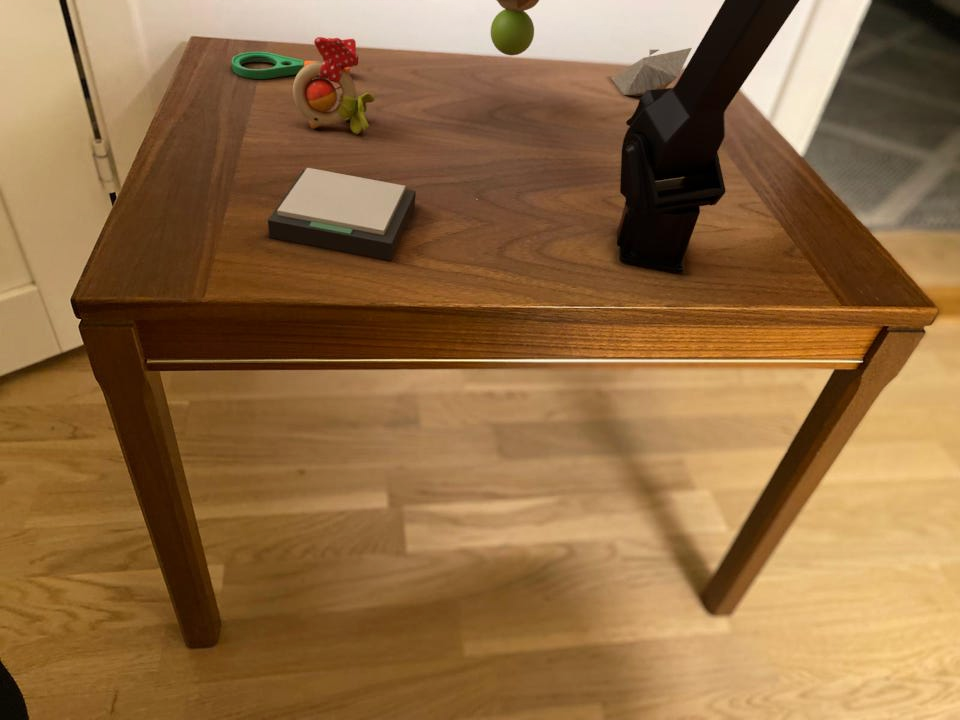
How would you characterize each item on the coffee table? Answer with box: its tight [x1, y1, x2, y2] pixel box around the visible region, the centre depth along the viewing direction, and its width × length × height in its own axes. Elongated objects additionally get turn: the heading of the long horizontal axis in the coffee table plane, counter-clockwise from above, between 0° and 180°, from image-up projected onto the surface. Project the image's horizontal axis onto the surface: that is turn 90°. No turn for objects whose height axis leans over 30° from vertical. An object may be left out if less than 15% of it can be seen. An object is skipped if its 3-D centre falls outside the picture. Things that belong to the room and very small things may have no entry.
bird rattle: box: [292, 36, 375, 135], centre depth 85 cm, size 6×11×9 cm
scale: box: [267, 167, 417, 261], centre depth 74 cm, size 12×10×3 cm
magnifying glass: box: [231, 51, 351, 80], centre depth 98 cm, size 15×6×2 cm, turn 97°
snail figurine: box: [490, 0, 540, 56], centre depth 90 cm, size 5×6×12 cm
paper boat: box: [610, 47, 693, 97], centre depth 106 cm, size 12×6×9 cm
